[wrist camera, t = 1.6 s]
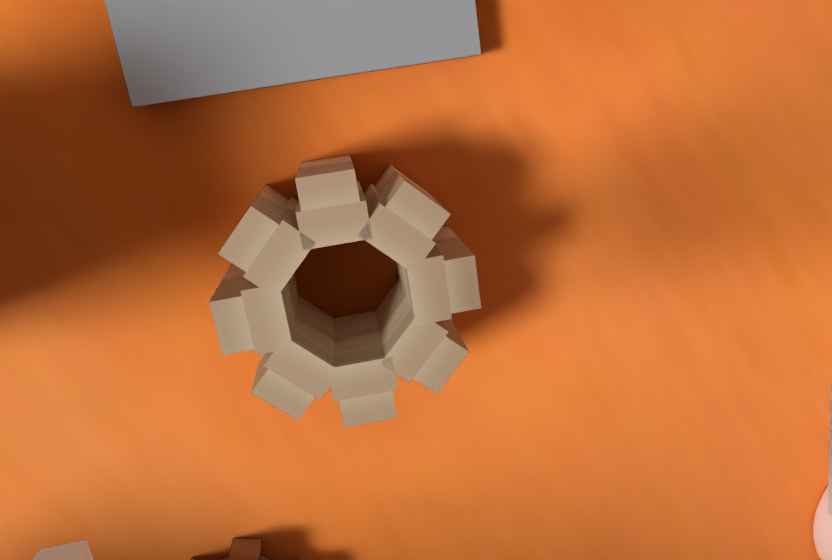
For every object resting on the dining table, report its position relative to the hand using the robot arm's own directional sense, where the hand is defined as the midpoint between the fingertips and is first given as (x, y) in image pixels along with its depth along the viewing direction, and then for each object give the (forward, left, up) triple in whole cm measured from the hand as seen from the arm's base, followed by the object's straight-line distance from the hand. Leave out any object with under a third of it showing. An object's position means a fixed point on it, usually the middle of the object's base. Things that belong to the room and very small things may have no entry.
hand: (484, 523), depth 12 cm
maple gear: (-2, +1, -15) cm, 15 cm away
